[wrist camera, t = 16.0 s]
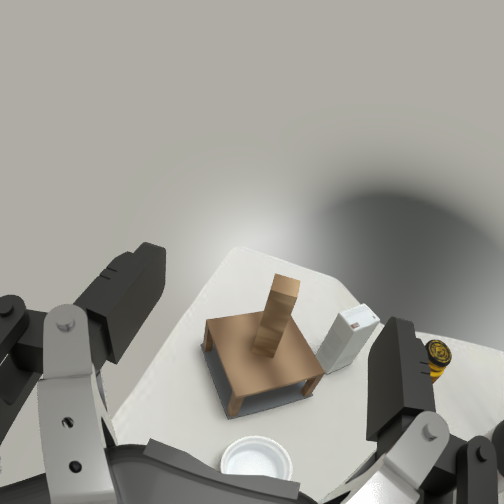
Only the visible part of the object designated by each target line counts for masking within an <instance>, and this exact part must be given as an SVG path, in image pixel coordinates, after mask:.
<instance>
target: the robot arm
mask: <svg viewBox="0 0 504 504" xmlns="http://www.w3.org/2000/svg"><path fill="white" fill-rule="evenodd" d="M165 271H166V250H165V248H163V247H160V246H157V245H154V244H151V243H147V242H144V243H143V244H141V245H140V247H139V248H138V249H137V250H136V251H135V252H134V253H131V252H125V253H123V254H121V255H120V256H118V257H116V258H114V260H112V262H111V263H110V264H109V265H108V266H107V267H106V269H104V270H103V271H102V272H101V273H100V276H98V277H97V278H96V279H95V280H94V281H93V282H92V283H91V284H90V285H89V287H88V288H87V289H86V290H85V291H84V292H83V293H82V294H81V296H80V297H79V298H78V299H77V300H76V301H75V302H74V303H73V304H64V305H60V306H57V307H55V308H53V309H52V310H51V311H50V312H49V313H46V312H39V311H34V310H28V309H26V306H25V303H24V301H23V300H22V299H21V298H20V297H19V296H16V295H6V296H2V297H0V364H1V362H2V361H3V359H4V358H5V357H6V355H7V354H8V356H7V357H6V359H5V360H4V361H3V363H2V364H1V366H0V445H1V443H2V441H3V440H4V438H5V436H6V434H7V432H8V430H9V429H10V427H11V425H12V423H13V422H14V420H15V418H16V416H17V415H18V413H19V411H20V410H21V408H22V406H23V404H24V403H25V401H26V399H27V398H28V396H29V395H30V393H31V391H32V390H33V388H34V386H35V385H36V383H37V382H38V385H37V396H38V412H39V424H40V434H41V443H42V451H43V458H44V465H45V470H46V473H43V474H40V475H37V476H34V477H31V478H29V479H25V480H22V481H19V482H16V483H13V484H10V485H6V486H3V487H0V504H498V494H499V493H501V492H503V491H504V420H503V421H502V422H500V423H499V424H498V425H497V426H496V427H494V428H493V429H492V430H490V431H489V432H488V433H486V434H485V435H484V436H475V437H474V438H472V439H471V440H469V441H468V442H467V441H465V440H462V439H460V438H458V437H456V436H454V435H452V434H450V433H449V428H448V425H447V423H446V421H445V420H444V419H443V418H442V417H441V416H440V415H439V414H437V413H436V409H435V400H434V392H433V385H432V378H431V376H430V374H431V371H430V366H429V359H428V353H427V350H426V348H425V346H424V344H423V343H422V341H421V339H419V338H416V336H415V331H414V325H413V323H412V322H411V321H408V320H404V319H401V318H397V317H391V318H390V319H389V320H388V322H387V323H386V325H385V326H384V328H383V330H382V331H381V333H380V334H379V336H378V337H377V339H376V340H375V342H374V343H373V345H372V347H371V349H370V352H369V356H368V405H367V431H366V440H367V441H374V442H377V449H376V450H374V451H373V452H372V453H371V454H370V456H369V457H368V458H367V459H366V460H365V461H364V462H363V463H362V464H361V465H360V466H359V467H358V468H357V469H356V470H355V471H354V472H353V473H352V474H351V475H350V476H349V477H348V478H347V479H346V480H345V481H344V482H343V483H342V484H341V485H340V486H339V487H337V488H336V489H335V490H334V491H332V492H331V493H329V494H328V495H327V496H326V497H324V498H323V499H322V500H321V501H319V502H318V503H317V502H316V501H314V500H313V499H312V498H311V497H309V496H307V495H306V494H304V493H302V492H300V491H299V487H300V483H298V482H293V481H288V480H283V479H278V478H274V477H269V476H265V475H235V474H223V473H220V472H218V471H216V470H214V469H213V468H211V467H209V466H208V465H206V464H204V463H203V462H201V461H199V460H198V459H196V458H194V457H193V456H191V455H190V454H188V453H187V452H184V451H181V450H179V449H176V448H173V447H171V446H168V445H166V444H163V443H161V442H158V441H156V440H153V439H151V438H150V440H149V442H148V444H147V445H138V444H126V445H118V442H117V438H116V435H115V431H114V428H113V425H112V421H111V418H110V414H109V408H108V403H107V398H106V393H105V387H104V381H103V375H102V370H101V368H102V366H103V364H104V363H105V361H106V360H108V361H110V362H112V363H114V364H117V363H118V362H119V360H120V359H121V357H122V355H123V354H124V352H125V351H126V349H127V348H128V346H129V344H130V343H131V341H132V340H133V338H134V337H135V335H136V334H137V332H138V331H139V329H140V327H141V326H142V324H143V323H144V321H145V320H146V318H147V317H148V315H149V314H150V312H151V311H152V309H153V308H154V306H155V305H156V303H157V302H158V300H159V299H160V297H161V295H162V293H163V290H164V286H165ZM42 374H43V379H40V380H39V378H40V377H41V375H42ZM1 471H2V466H1V458H0V473H1Z"/></svg>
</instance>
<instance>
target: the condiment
mask: <svg viewBox="0 0 504 504" xmlns="http://www.w3.org/2000/svg"><path fill="white" fill-rule="evenodd" d="M425 348H426V350H427V353H428V359H429V366H430V371H431V374H430V376H431V378H432V384H433V383H434V382H435V381H436V380H437V379H438V378H439V377H440V376H441V375H442V374H443V372H444V369H445V368H446V366H447V365H448V364H449V363H450V361H451V357H452V355H451V352H450V349H449V348H448V347H447V346H446V344H445V343H443V342H442V341H440V340H430V341H429V342H428V343H427V344H426V345H425Z"/></svg>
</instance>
